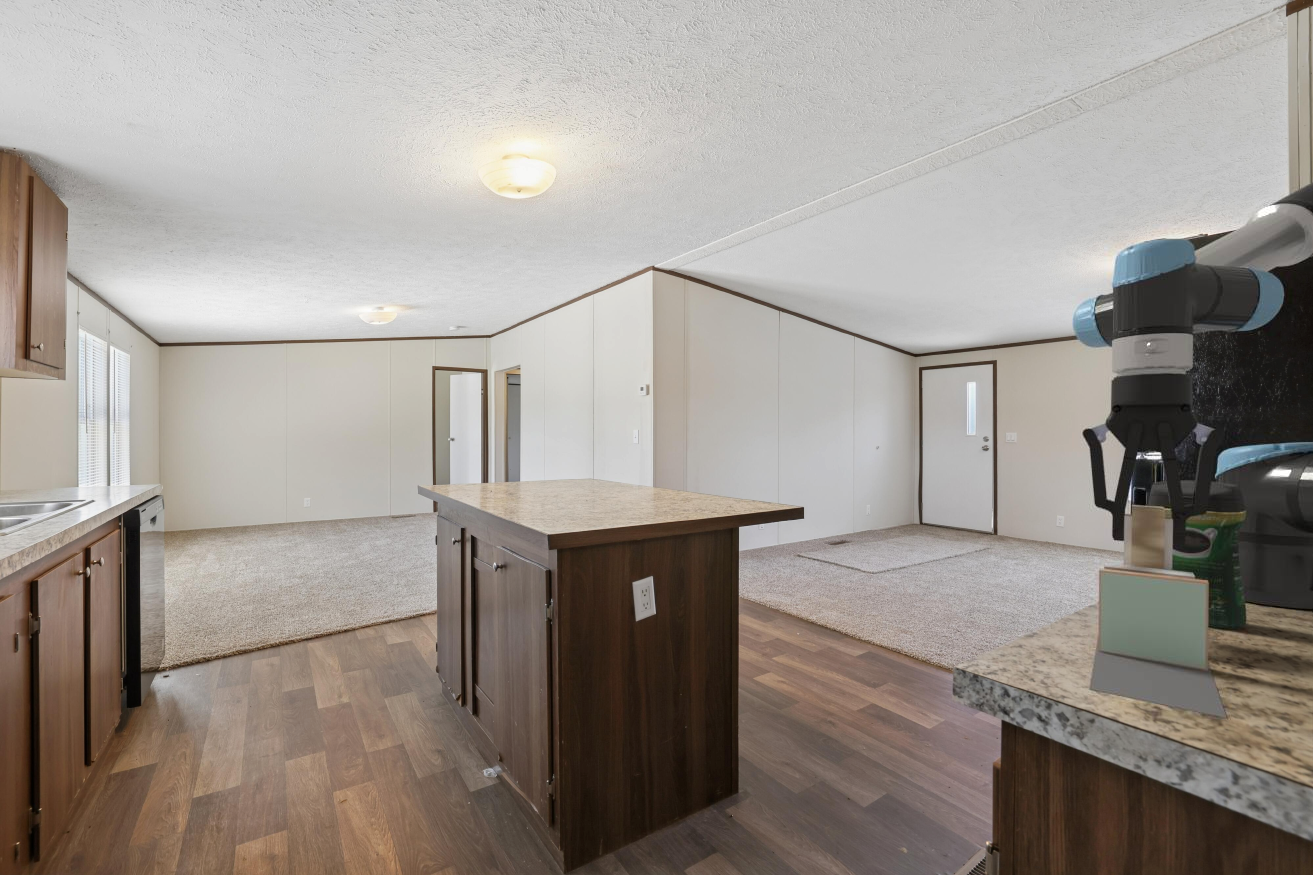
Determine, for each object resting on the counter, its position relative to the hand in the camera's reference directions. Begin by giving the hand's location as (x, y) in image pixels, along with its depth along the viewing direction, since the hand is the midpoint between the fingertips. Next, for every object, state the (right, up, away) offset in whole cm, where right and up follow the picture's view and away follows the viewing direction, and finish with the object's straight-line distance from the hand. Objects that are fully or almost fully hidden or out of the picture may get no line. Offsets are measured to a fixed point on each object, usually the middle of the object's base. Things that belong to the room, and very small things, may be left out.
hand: (1146, 570), depth 73 cm
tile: (-6, -8, -8) cm, 12 cm away
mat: (-7, -8, -9) cm, 14 cm away
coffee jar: (+12, -9, +7) cm, 17 cm away
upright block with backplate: (0, -1, 0) cm, 1 cm away
